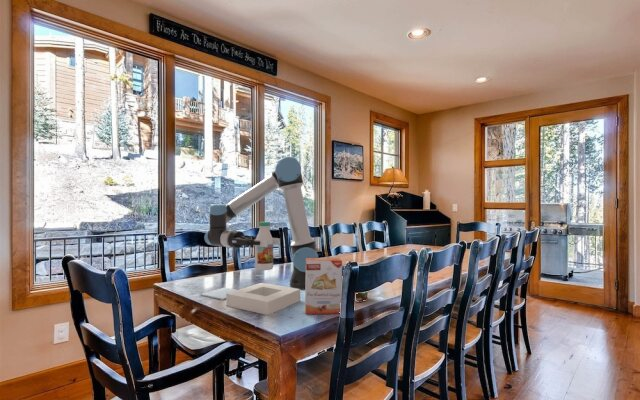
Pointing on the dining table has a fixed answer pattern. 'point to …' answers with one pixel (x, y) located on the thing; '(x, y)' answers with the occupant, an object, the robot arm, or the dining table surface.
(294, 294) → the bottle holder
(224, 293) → the mat
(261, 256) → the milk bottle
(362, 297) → the food container
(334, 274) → the cracker box
